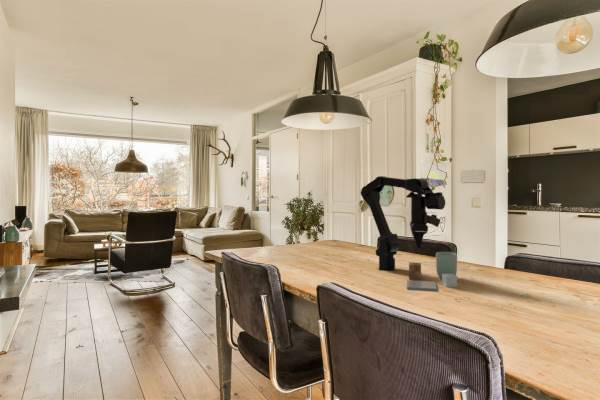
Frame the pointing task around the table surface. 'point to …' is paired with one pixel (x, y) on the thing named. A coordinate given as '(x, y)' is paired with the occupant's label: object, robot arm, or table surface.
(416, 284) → the coaster
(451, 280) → the painted cube
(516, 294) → the table surface
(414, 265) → the walnut block
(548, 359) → the table surface
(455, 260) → the cup
